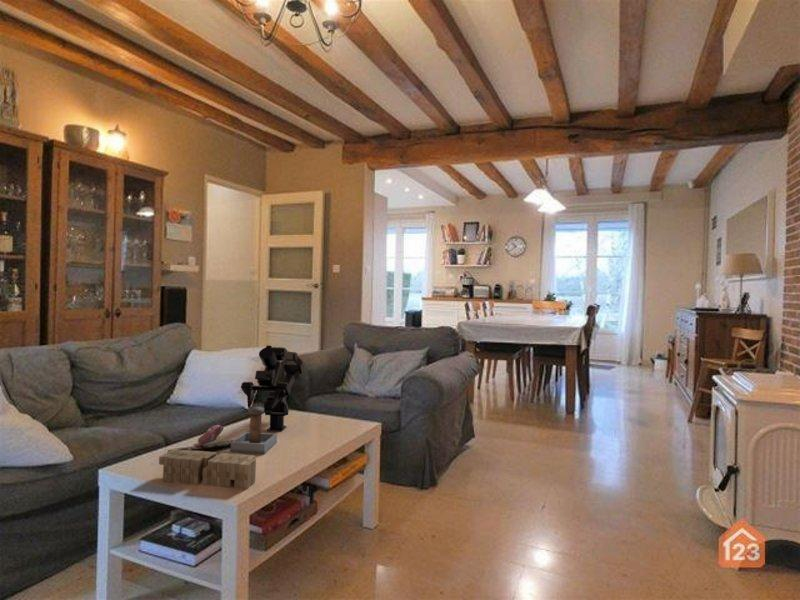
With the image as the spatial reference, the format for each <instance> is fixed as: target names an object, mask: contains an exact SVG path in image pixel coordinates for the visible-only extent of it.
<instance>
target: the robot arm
mask: <svg viewBox="0 0 800 600" xmlns="http://www.w3.org/2000/svg"><path fill="white" fill-rule="evenodd" d="M258 356H259V358H260V361H261V362H262V365H263V366H264V370H255V375H254V376H255V377H254V379H255V380H256V381H257V384H259V385H257V384H256V385H254V383H253V381H243V382H242V383H241V385H240V389H241V390H242V392H243V393H244V395H246V398H247V399H246V400H247V407H248V409H249V408H250V407H252V404H253V402H254V399H255V397H256V395H255V394H256V391H257V392H259V391H261V392H269V394H268V396H267V397H266V399H265V401H264V404H263V408H264V414H265V415H264V416H269V427H268V428H267V429H266V431H268V432H269V431H271V432H282V431H284V430H285V429H286V428H288V427H287V425H285V416H289V411H290V408H289V406H288V402H287V397H290V396H291V391H292V390H291V389H292V387H293V384H294V383H295V381H297V380H299V379H300V378H302V376H303V374H304V372H305V367H304V363H303V359H301V358H300V357H299V356H298V352H296V351H290V350H289V351H288V349H287V348H286V347H282V346H281V347H280V346H276V347H275V346H272V345H267V344H266V347H264V348H261V350H259V353H258ZM290 361H291V362H294V363H287V362H290ZM280 362H284V363H283V365H281V363H280ZM281 366H282V367H281ZM282 368H283V371H284V377H283V379H282V380H281V381H279V378H278V376H279V373H280V371H281V370H282ZM278 381H279V382H278Z"/></svg>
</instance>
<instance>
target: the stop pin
mask: <svg viewBox="0 0 800 600" xmlns="http://www.w3.org/2000/svg"><path fill="white" fill-rule="evenodd" d="M247 413H248V414H250V421H249V432H250V435H249V443H260V439H261V433H262V416H263V414H265V409H264V406H250V408H248V412H247Z"/></svg>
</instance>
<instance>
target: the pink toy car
mask: <svg viewBox="0 0 800 600" xmlns="http://www.w3.org/2000/svg"><path fill="white" fill-rule="evenodd" d="M223 430H224V426H223V425H219V424H214V425H212V426H211V427H210V428H208V430H206V431H205V432H204V434H202V435H201V436H200V437H198V439H197V442H198V444H204V443H206V442H209V443H210V442H212V441H213V440H216V439H217V438H218V437H219V436H220V434H221V433H222V432H223Z"/></svg>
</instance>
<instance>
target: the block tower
mask: <svg viewBox="0 0 800 600" xmlns="http://www.w3.org/2000/svg"><path fill="white" fill-rule="evenodd" d="M158 465H162V469H163V470H162V481H163V482H167V481H169V482H168V483H176V482H178V484H187V483H188V485H199V484H201V483H202V486H211V487H223V488H230V487H232V486H234V487H233V488H234V489H241V488H243V490H249V489H250V488H251V487H252V486H253V485H254V484H255V483H256V471H257V470H256V465H257V459H256V455H254V454H252V455H250V454H242V453H226V452H220V453H219V454H217V452H215V451H205V450H189V449H188V450H187V449H179V448H177V447H175V448H172V449H171V450H169V451H167V452H165V453H163V454H162V455H159V457H158ZM180 482H181V483H180ZM251 485H252V486H251ZM250 486H251V487H250ZM249 487H250V488H249Z"/></svg>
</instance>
